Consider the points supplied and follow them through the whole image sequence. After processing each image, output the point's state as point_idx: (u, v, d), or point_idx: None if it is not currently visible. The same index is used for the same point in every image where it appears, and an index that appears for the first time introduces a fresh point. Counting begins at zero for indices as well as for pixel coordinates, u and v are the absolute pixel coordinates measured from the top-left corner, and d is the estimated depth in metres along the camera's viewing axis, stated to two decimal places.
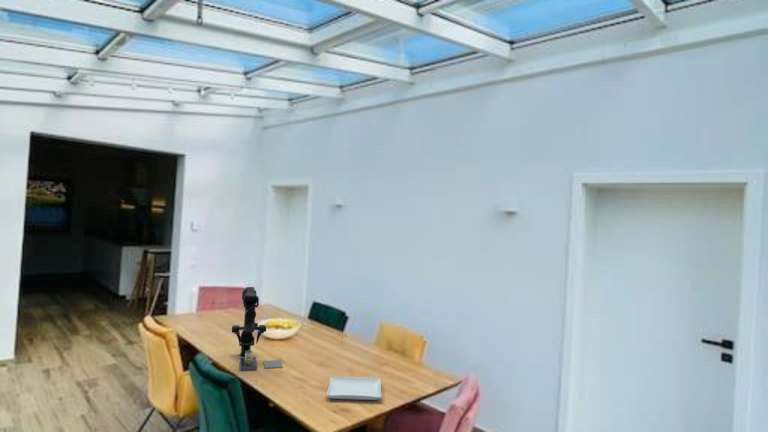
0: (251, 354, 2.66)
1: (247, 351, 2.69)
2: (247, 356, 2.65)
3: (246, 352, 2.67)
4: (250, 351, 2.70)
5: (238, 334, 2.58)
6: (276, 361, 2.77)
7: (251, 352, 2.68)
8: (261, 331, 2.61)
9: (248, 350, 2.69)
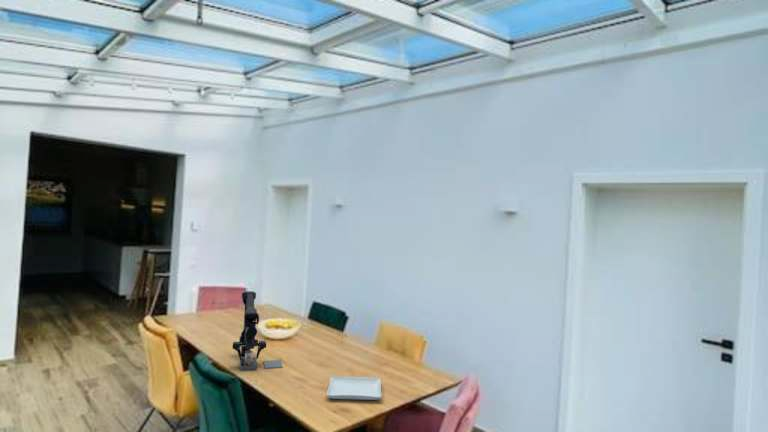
0: (251, 354, 2.66)
1: (247, 351, 2.69)
2: (247, 356, 2.65)
3: (246, 352, 2.67)
4: (250, 351, 2.70)
5: (239, 350, 2.65)
6: (276, 361, 2.77)
7: (251, 352, 2.68)
8: (261, 347, 2.68)
9: (248, 350, 2.69)
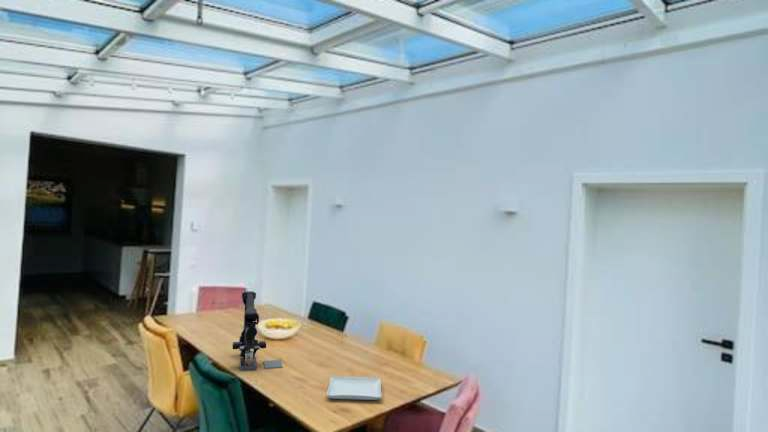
0: (251, 354, 2.66)
1: (247, 351, 2.69)
2: (247, 356, 2.65)
3: (246, 352, 2.67)
4: (250, 351, 2.70)
5: (243, 350, 2.65)
6: (276, 361, 2.77)
7: (251, 352, 2.68)
8: (261, 347, 2.68)
9: (248, 350, 2.69)
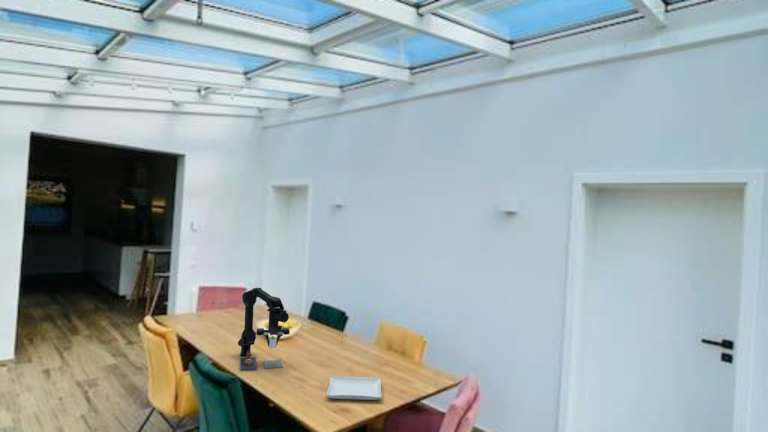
0: (275, 340, 2.70)
1: (271, 337, 2.73)
2: (271, 342, 2.69)
3: (270, 338, 2.71)
4: (274, 337, 2.74)
5: (267, 337, 2.69)
6: (276, 361, 2.77)
7: (275, 338, 2.72)
8: (285, 334, 2.71)
9: (272, 336, 2.73)
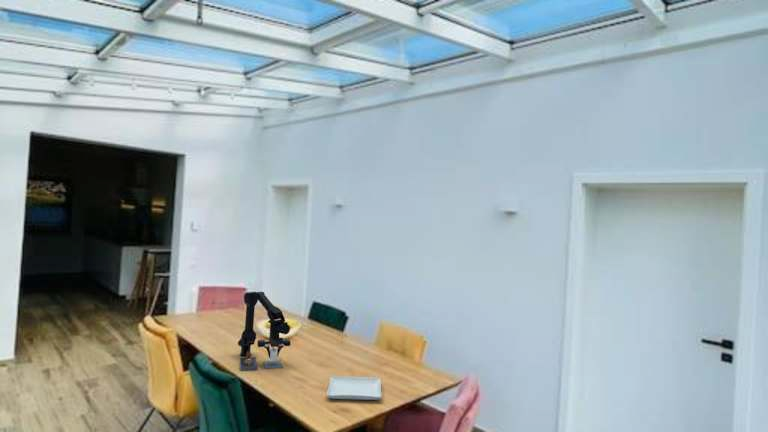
0: (276, 352, 2.70)
1: (271, 349, 2.74)
2: (272, 354, 2.70)
3: (271, 350, 2.72)
4: (274, 349, 2.74)
5: (268, 348, 2.70)
6: (276, 361, 2.77)
7: (276, 350, 2.72)
8: (285, 345, 2.72)
9: (273, 348, 2.73)
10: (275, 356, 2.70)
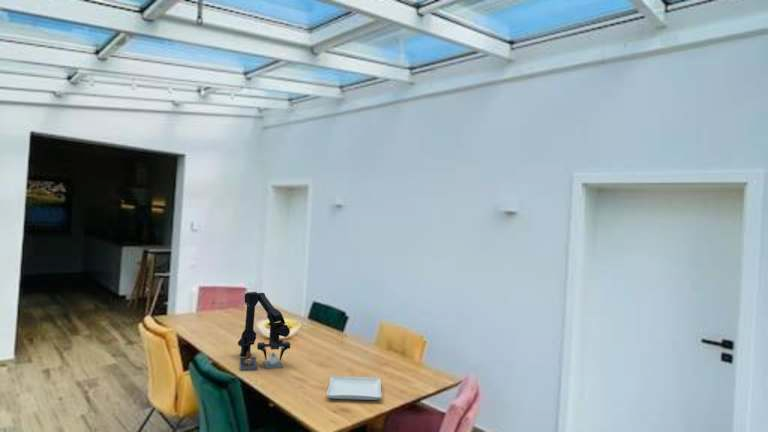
0: (275, 357, 2.70)
1: (271, 354, 2.74)
2: (272, 359, 2.69)
3: (270, 355, 2.72)
4: (274, 354, 2.74)
5: (264, 351, 2.69)
6: None
7: (275, 355, 2.72)
8: (285, 348, 2.72)
9: (272, 353, 2.73)
10: (275, 361, 2.70)
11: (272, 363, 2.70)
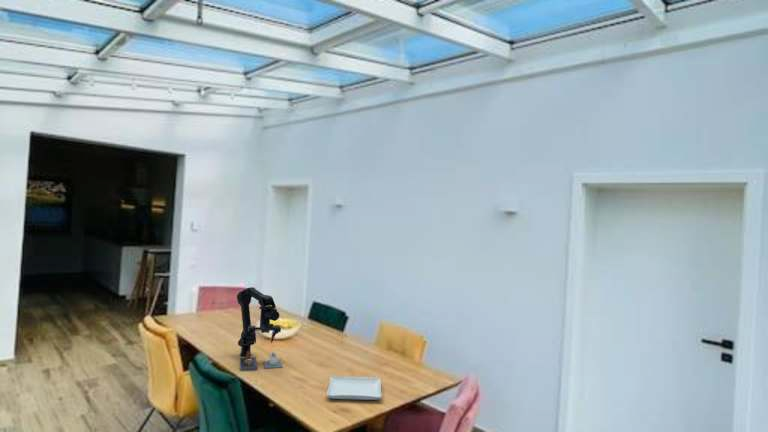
0: (275, 357, 2.70)
1: (271, 354, 2.74)
2: (272, 359, 2.69)
3: (270, 355, 2.72)
4: (274, 354, 2.74)
5: (254, 334, 2.72)
6: None
7: (275, 355, 2.72)
8: (276, 331, 2.75)
9: (272, 353, 2.73)
10: (275, 361, 2.70)
11: (272, 363, 2.70)
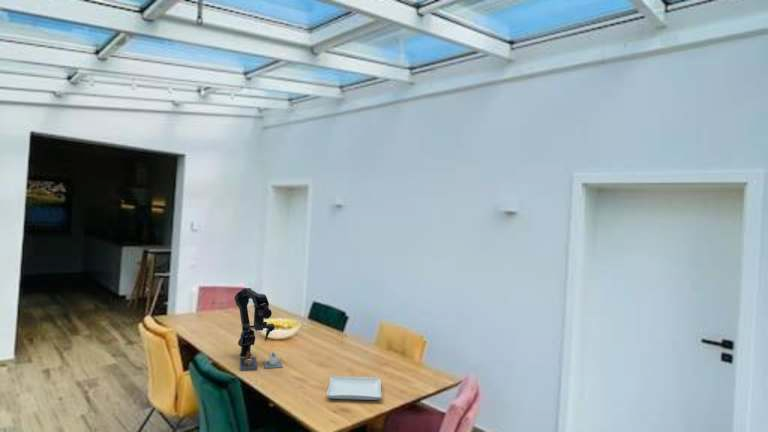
0: (275, 357, 2.70)
1: (271, 354, 2.74)
2: (272, 359, 2.69)
3: (270, 355, 2.72)
4: (274, 354, 2.74)
5: (248, 332, 2.74)
6: None
7: (275, 355, 2.72)
8: (270, 329, 2.77)
9: (272, 353, 2.73)
10: (275, 361, 2.70)
11: (272, 363, 2.70)
